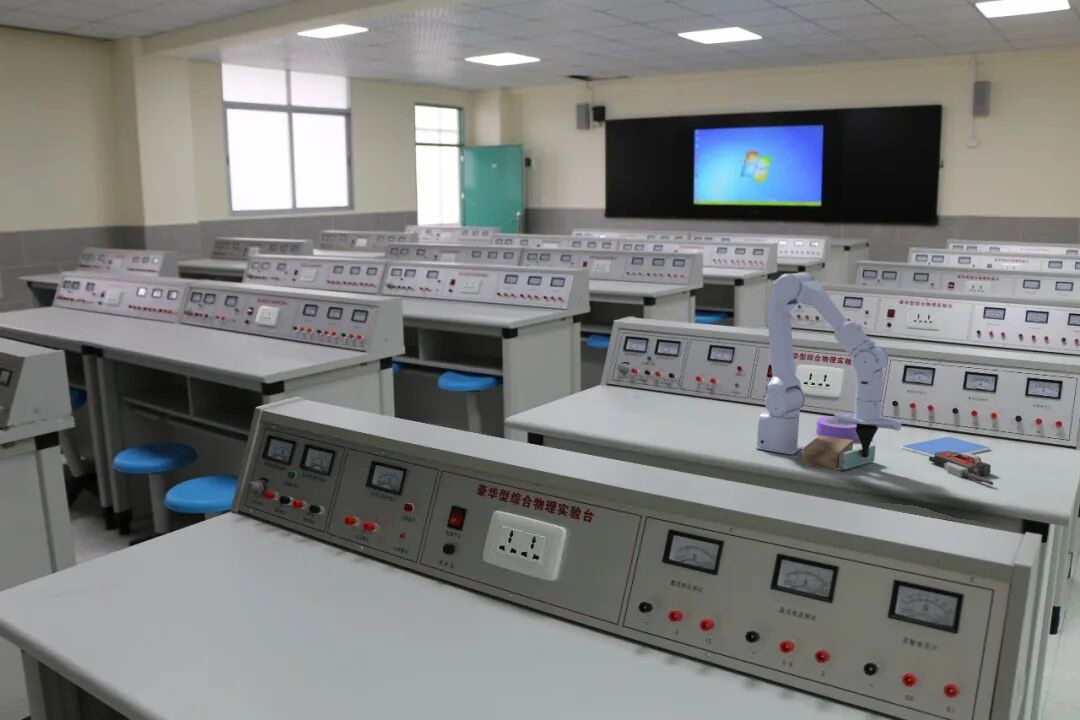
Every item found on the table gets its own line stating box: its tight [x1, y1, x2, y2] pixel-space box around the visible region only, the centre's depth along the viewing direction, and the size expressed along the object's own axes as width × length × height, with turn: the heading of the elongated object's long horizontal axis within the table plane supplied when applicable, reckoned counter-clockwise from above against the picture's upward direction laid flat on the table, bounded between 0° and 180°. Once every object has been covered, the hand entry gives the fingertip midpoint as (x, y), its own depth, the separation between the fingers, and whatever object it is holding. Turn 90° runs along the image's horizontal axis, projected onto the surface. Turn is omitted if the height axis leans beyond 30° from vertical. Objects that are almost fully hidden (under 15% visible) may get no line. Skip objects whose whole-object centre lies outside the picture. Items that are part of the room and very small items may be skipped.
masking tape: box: [815, 416, 860, 441], centre depth 234 cm, size 12×12×4 cm
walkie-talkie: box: [928, 451, 994, 486], centre depth 201 cm, size 9×4×20 cm
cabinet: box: [801, 435, 854, 472], centre depth 209 cm, size 9×15×4 cm, turn 147°
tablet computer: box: [900, 436, 991, 458], centre depth 221 cm, size 19×13×1 cm, turn 120°
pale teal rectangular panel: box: [842, 444, 876, 471], centre depth 205 cm, size 13×1×4 cm, turn 127°
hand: (865, 456), depth 204 cm, fingers closed, pressing on pale teal rectangular panel
